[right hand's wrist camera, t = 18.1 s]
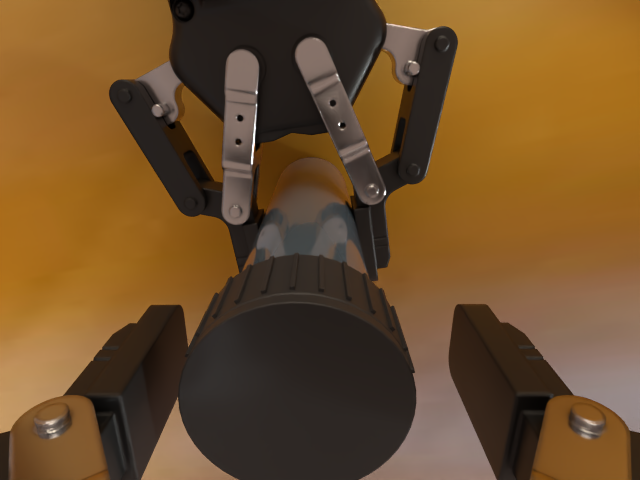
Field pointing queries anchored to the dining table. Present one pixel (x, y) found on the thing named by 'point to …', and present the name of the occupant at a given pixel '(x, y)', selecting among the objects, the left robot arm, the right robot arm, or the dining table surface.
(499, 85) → the dining table surface
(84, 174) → the dining table surface
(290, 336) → the lid
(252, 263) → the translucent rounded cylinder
